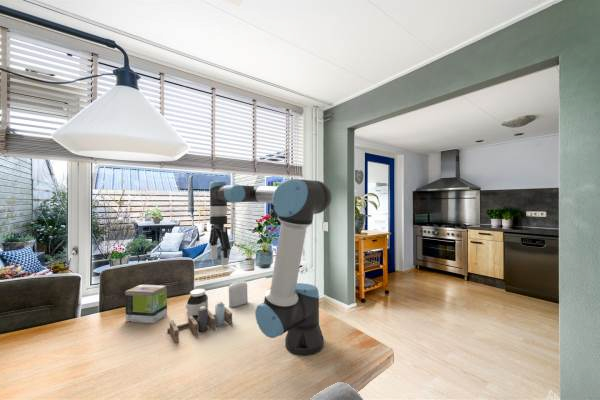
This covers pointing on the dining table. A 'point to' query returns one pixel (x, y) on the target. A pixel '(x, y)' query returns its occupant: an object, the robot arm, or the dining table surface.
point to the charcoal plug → (202, 319)
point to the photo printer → (238, 294)
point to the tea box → (146, 303)
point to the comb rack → (194, 325)
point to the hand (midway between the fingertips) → (219, 262)
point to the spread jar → (196, 302)
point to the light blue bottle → (219, 314)
